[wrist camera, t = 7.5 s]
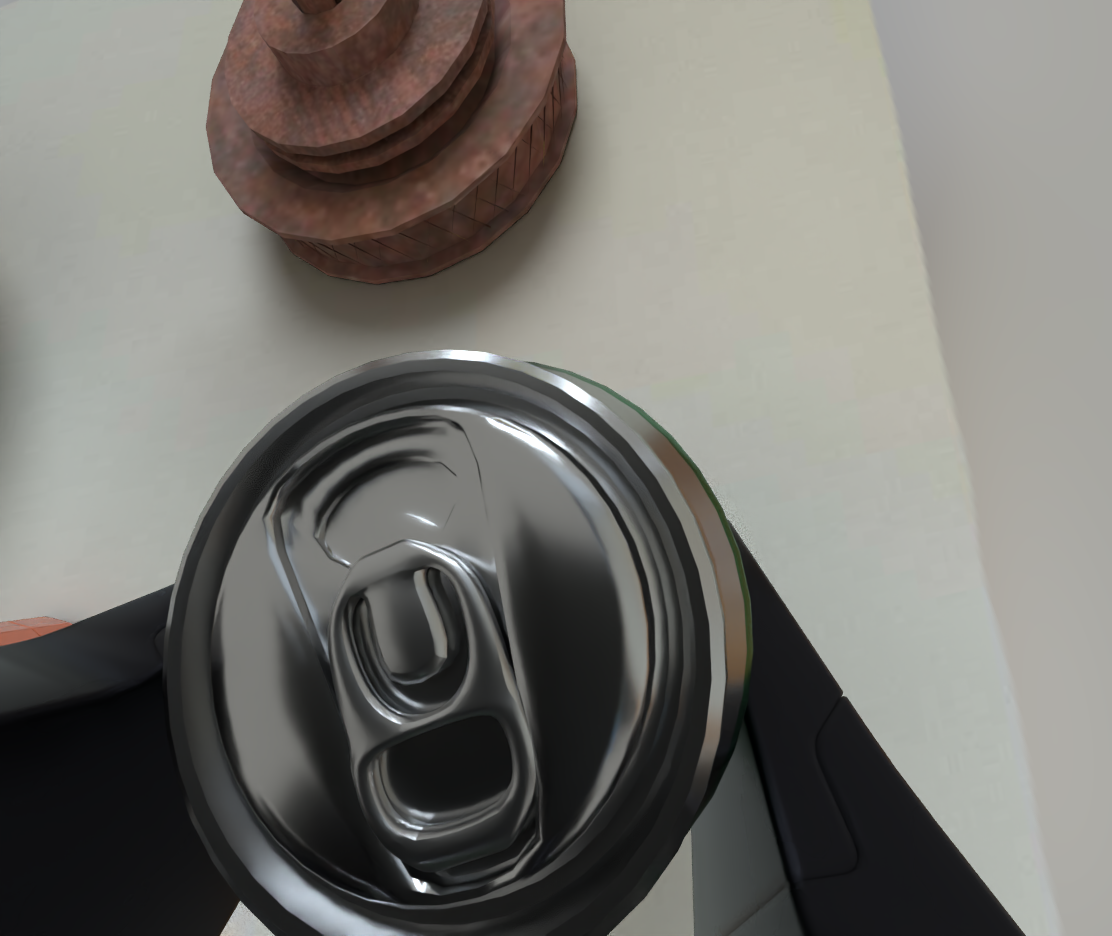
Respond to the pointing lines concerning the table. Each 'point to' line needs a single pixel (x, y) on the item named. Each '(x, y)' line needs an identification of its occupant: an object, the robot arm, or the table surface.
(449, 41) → the rusty bell weight
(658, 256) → the table surface
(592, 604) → the soda can
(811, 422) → the table surface
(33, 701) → the robot arm
